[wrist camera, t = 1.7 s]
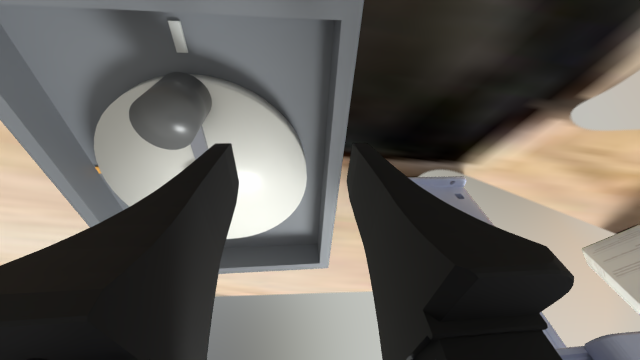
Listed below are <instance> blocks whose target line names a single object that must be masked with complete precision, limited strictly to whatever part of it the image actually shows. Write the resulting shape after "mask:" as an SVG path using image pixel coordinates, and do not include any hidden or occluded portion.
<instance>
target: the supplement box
mask: <svg viewBox="0 0 640 360" xmlns="http://www.w3.org/2000/svg"><path fill="white" fill-rule="evenodd" d="M582 251H583V254H584V257H585V259H586V262H587V264H588V266H589V267H590V268H592V269H593V270H594V271H595V272H596V273H597V274H598V275H599V276H600V277H601V278H602V279H603V280H604V281H605V282H606V283H607V284H608V285H609V286H610V287H611V288H612V289H613V290H614V291H615V292H616V293H617V294H618V295H619V296H620V297H621V298H623V299H624V300H625V301H626V302H627V303H628V304H629V305H630V306H631V307H632V308H633V309H634V310H635V311H636V312H637V313H638V314H639V315H640V225H637V226H635V227H632V228H630V229H628V230H625V231H623V232H621V233H618V234H616V235H614V236H611V237H608V238H606V239H604V240H601V241H599V242H596V243H594V244H591V245H589V246H587V247H584V248H582Z"/></svg>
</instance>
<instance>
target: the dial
mask: <svg viewBox="0 0 640 360" xmlns="http://www.w3.org/2000/svg"><path fill="white" fill-rule="evenodd" d="M215 143H231V144H232V149H233V154H234V159H235V164H236V169H237V174H238V179H239V189H238V196H237V203H236V207H235V210H234V214H233V217H232V221H231V224H230V228H229V231H228V235H227V238H226V239H234V238H242V237H248V236H252V235H256V234H259V233H262V232H265V231H267V230H269V229H271V228H274V227H275V226H277V225H279V224H280V223H282V222H283V221H284V220H286V219H287V218H288V217H289V216H290V215H291V214H292V213H293V212H294V211H295V209H296V208H297V207H298V205H299V204H300V202H301V200H302V197H303V195H304V192H305V188H306V181H307V173H306V159H305V154H304V150H303V147H302V144H301V142H300V139H299V137H298V135H297V134H296V132H295V130H294V128H293V127H292V126H291V124H290V123H289V122H288V121H287V119H286V118H285V117H284V116H283V115H282V114H281V113H280V112H279V111H278V110H277V109H276V108H275V107H274V106H272V105H271V104H270V103H269V102H267V101H266V100H265V99H263V98H262V97H260V96H259V95H257V94H255V93H254V92H252V91H250V90H248V89H246V88H244V87H242V86H240V85H237V84H235V83H232V82H229V81H226V80H223V79H219V78H215V77H210V76H205V75H195V74H187V73H183V72H172V73H169V74H167V75H165V76H161V77H156V78H153V79H150V80H147V81H144V82H142V83H140V84H138V85H136V86H135V87H133V88H131V89H130V90H128V91H127V92H125V93H124V94H123V95H121V96H120V97H119V98H118V99H116V100H115V101H114V102H113V103H112V104H110V105H109V106H108V108H107V109H106V110H105V112H104V113H103V114H102V115H101V118H100V120H99V122H98V124H97V126H96V131H95V135H94V152H95V157H96V161H97V164H98V166H99V169H100V171H101V173H102V175H103V177H104V179H105V180H106V182H107V183H108V185H109V186H110V187H111V189H112V190H113V191H114V192H115V193H116V194H117V195H118V197H119V198H120V199H121V200H122V201H124V202H125V203H126V204H127V205H128V206H129V207H130V206H132V205H133V204H135V203H137V202H138V201H140V200H142V199H143V198H145V197H146V196H148V195H150V194H151V193H153V192H154V191H156V190H157V189H159V188H160V187H161V186H163V185H164V184H165V183H167V182H168V181H169V180H171V179H172V178H173V177H175V176H176V175H177V174H179V173H180V172H182V171H183V170H184V169H185V168H186V167H188V166H189V165H190V164H191V163H192V162H194V161H195V160H196V159H197V158H198V157H200V156H201V155H202V154H203V153H204V152H205V151H207V150H208V149H209V148H210V147H211V146H213V145H214V144H215Z"/></svg>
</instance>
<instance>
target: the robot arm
mask: <svg viewBox="0 0 640 360" xmlns="http://www.w3.org/2000/svg"><path fill="white" fill-rule="evenodd" d="M465 183H466V179H465V178H464V177H407V176H405V175H404V174H403V173H401V172H400V171H399V170H398V169H396V168H395V167H394V166H393V165H392V164H390V163H389V162H388V161H387V160H386V159H385V158H384V157H382V156H381V155H380V154H379V153H378V152H377V151H376V150H375V149H373V148H372V147H371V146H370V145H369V144H367V143H352V150H351V156H350V163H349V169H348V175H347V186H348V192H349V198H350V202H351V206H352V209H353V212H354V216H355V219H356V222H357V225H358V229H359V232H360V235H361V238H362V242H363V245H364V249H365V253H366V258H367V263H368V268H369V273H370V279H371V285H372V290H373V296H374V302H375V309H376V315H377V321H378V328H379V336H380V343H381V351H382V358H383V360H640V332H628V333H617V334H610V335H605V336H601V337H599V338H596V339H594V340H591V341H589V342H588V343H586V344H585V346H581V347H569V348H567V347H566V346H565V344H564V343H563V341H562V340H561V339H560V337H559V336H558V334H557V333H556V331H555V330H554V329H553V327H552V326H551V325H550V323H549V322H548V320H547V319H546V317H545V316H544V315H543V313H542V312H541V311H543V310H544V309H545V308H547V307H549V306H550V305H552V304H553V303H554V302H556V301H557V300H559V299H560V298H562V297H563V296H564V295H565V294H566V293H568V292H569V290H570V289H571V288H572V286H573V283H574V276H573V275H572V274H571V273H570V272H569V271H568V269H567V268H566V267H565V266H564V265H563V264H562V263H561V262H560V261H559V260H558V258H557V257H556V256H555V255H554V254H553V253H552V252H551V251H550V250H549V248H547V247H546V246H544V245H541V244H539V243H536V242H533V241H531V240H528V239H525V238H523V237H520V236H517V235H515V234H512V233H509V232H507V231H504V230H502V229H500V228H497V227H495V226H494V225H493V224H492V222H491V221H490V220H489V218H488V217H487V216H486V215H485V213H484V212H483V211H482V210H481V209H480V207H479V206H478V205H477V203H476V202H475V201H474V200H473V198H472V197H471V196H470V195H469V193H468V192H467V191H466V190H465V188H464V185H465ZM238 189H239V179H238V174H237V169H236V164H235V159H234V154H233V149H232V144H231V143H215V144H214V145H213V146H211V147H210V148H209V149H208V150H207V151H205V152H204V153H203V154H202V155H201V156H200V157H198V158H197V159H196V160H195V161H194V162H192V163H191V164H190V165H189V166H188V167H186V168H185V169H184V170H183V171H182V172H180V173H179V174H177V175H176V176H175V177H173V178H172V179H171V180H169V181H168V182H167V183H165V184H164V185H163V186H161V187H160V188H159V189H157V190H156V191H154V192H153V193H151V194H150V195H148V196H146V197H145V198H143V199H142V200H140V201H138V202H137V203H135V204H133V205H132V206H130V207H128V208H126V209H125V210H123V211H121V212H119V213H117V214H115V215H113V216H112V217H110V218H108V219H106V220H104V221H102V222H100V223H98V224H96V225H94V226H92V227H90V228H88V229H86V230H84V231H82V232H80V233H78V234H76V235H73V236H71V237H69V238H67V239H64V240H62V241H60V242H58V243H56V244H53V245H51V246H49V247H46V248H44V249H41V250H39V251H37V252H34V253H32V254H29V255H26V256H24V257H21V258H19V259H16V260H14V261H11V262H9V263H6V264H4V265H1V266H0V360H207V352H208V343H209V335H210V327H211V319H212V312H213V304H214V298H215V292H216V285H217V279H218V273H219V267H220V262H221V257H222V253H223V249H224V245H225V242H226V238H227V235H228V231H229V228H230V224H231V221H232V217H233V214H234V210H235V207H236V203H237V196H238Z"/></svg>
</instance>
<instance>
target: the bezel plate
mask: <svg viewBox="0 0 640 360" xmlns="http://www.w3.org/2000/svg"><path fill="white" fill-rule="evenodd" d="M363 4H364V0H0V120H1V121H2V122H3V124H4V125H5V126H6V127H7V128H8V130H9V131H10V132H11V133H12V134H13V136H14V137H15V138H16V139H17V140H18V142H19V143H20V144H21V145H22V146H23V148H24V149H25V150H26V151H27V152H28V154H29V155H30V156H31V157H32V158H33V160H34V161H35V162H36V163H37V164H38V166H39V167H40V168H41V169H42V170H43V172H44V173H45V174H46V175H47V176H48V178H49V179H50V180H51V181H52V182H53V184H54V185H55V186H56V187H57V188H58V190H59V191H60V192H61V193H62V194H63V196H64V197H65V198H66V199H67V200H68V202H69V203H70V204H71V205H72V206H73V208H74V209H75V210H76V211H77V212H78V214H79V215H80V216H81V217H82V218H83V220H84V221H85V222H86V223H87V224H88V226H89V227H92V226H94V225H96V224H98V223H100V222H102V221H104V220H106V219H108V218H110V217H112V216H113V215H115V214H117V213H119V212H121V211H123V210H125V209H126V208H128V207H129V206H128V205H127V204H126V203H125V202H124V201H122V200H121V199H120V198H119V197H118V195H117V194H116V193H115V192H114V191H113V190H112V189H111V187H110V186H109V185H108V183H107V182H106V180H105V179H104V177H103V175H102V173H101V171H100V169H99V166H98V164H97V161H96V157H95V152H94V135H95V131H96V126H97V124H98V122H99V120H100V118H101V115H102V114H103V113H104V112H105V110H106V109H107V108H108V106H109V105H110V104H112V103H113V102H114V101H115V100H116V99H118V98H119V97H120V96H121V95H123V94H124V93H125V92H127V91H128V90H130V89H131V88H133V87H135V86H136V85H138V84H140V83H142V82H144V81H147V80H150V79H153V78H156V77H161V76H165V75H167V74H169V73H172V72H183V73H187V74H195V75H205V76H210V77H215V78H219V79H223V80H226V81H229V82H232V83H235V84H237V85H240V86H242V87H244V88H246V89H248V90H250V91H252V92H254V93H255V94H257V95H259V96H260V97H262V98H263V99H265V100H266V101H267V102H269V103H270V104H271V105H272V106H274V107H275V108H276V109H277V110H278V111H279V112H280V113H281V114H282V115H283V116H284V117H285V118H286V119H287V121H288V122H289V123H290V124H291V126H292V127H293V128H294V130H295V132H296V134H297V135H298V137H299V139H300V142H301V144H302V147H303V150H304V154H305V159H306V173H307V181H306V188H305V192H304V195H303V197H302V200H301V202H300V204H299V205H298V207H297V208H296V209H295V211H294V212H293V213H292V214H291V215H290V216H289V217H288V218H287V219H286V220H284V221H283V222H282V223H280V224H279V225H277V226H275V227H274V228H271V229H269V230H267V231H265V232H262V233H259V234H256V235H252V236H248V237H242V238H234V239H226V242H225V245H224V249H223V253H222V257H221V262H220V267H219V273H218V274H225V273H244V272H263V271H281V270H300V269H319V268H328V265H329V258H330V250H331V243H332V235H333V228H334V221H335V213H336V206H337V198H338V191H339V183H340V176H341V168H342V161H343V153H344V146H345V138H346V131H347V124H348V116H349V109H350V101H351V94H352V86H353V79H354V71H355V64H356V56H357V49H358V41H359V34H360V26H361V19H362V12H363Z"/></svg>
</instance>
